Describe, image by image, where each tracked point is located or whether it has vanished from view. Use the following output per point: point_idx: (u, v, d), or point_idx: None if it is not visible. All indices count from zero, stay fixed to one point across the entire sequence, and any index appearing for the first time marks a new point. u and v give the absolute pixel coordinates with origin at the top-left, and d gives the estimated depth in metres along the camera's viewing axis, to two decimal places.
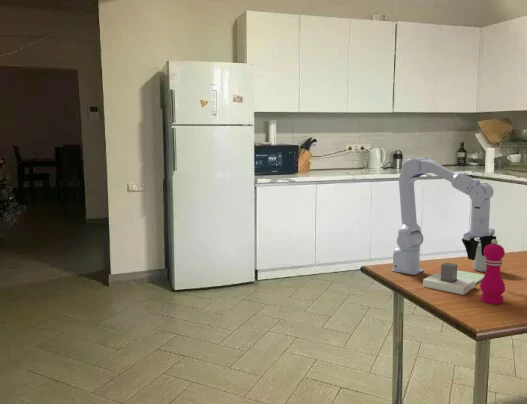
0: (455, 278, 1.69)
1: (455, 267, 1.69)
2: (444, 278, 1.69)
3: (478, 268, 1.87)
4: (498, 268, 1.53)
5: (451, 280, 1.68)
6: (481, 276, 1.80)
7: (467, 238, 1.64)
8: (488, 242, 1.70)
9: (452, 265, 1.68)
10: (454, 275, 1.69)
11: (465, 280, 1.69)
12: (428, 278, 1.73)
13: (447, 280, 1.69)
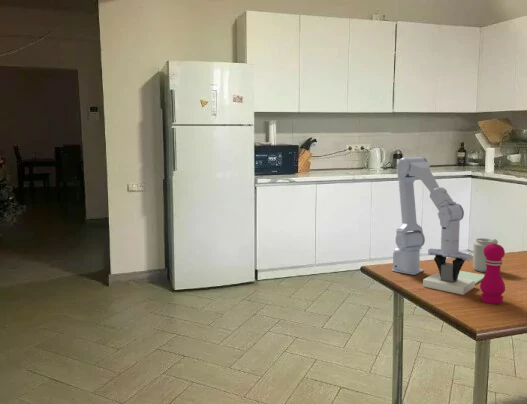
0: None
1: None
2: (444, 278, 1.69)
3: (478, 268, 1.87)
4: (498, 268, 1.53)
5: (451, 280, 1.68)
6: (481, 276, 1.80)
7: None
8: None
9: (452, 265, 1.69)
10: None
11: (465, 280, 1.69)
12: (428, 278, 1.73)
13: (447, 280, 1.69)
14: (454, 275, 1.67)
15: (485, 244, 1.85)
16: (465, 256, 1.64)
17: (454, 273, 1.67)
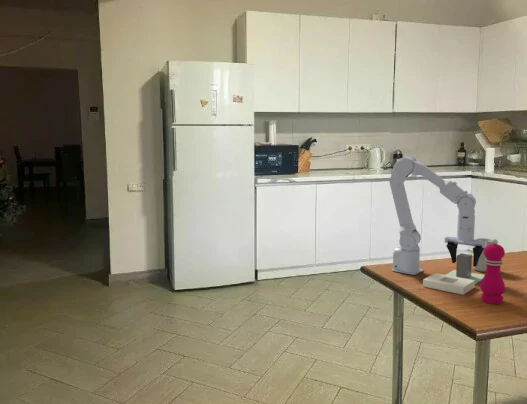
0: (470, 268, 1.79)
1: (470, 257, 1.78)
2: (459, 267, 1.79)
3: (478, 268, 1.87)
4: (498, 268, 1.53)
5: (466, 270, 1.78)
6: (481, 276, 1.80)
7: None
8: None
9: (467, 255, 1.78)
10: (469, 265, 1.78)
11: (465, 280, 1.69)
12: (428, 278, 1.73)
13: (462, 270, 1.78)
14: (474, 262, 1.76)
15: None
16: (480, 243, 1.74)
17: (474, 260, 1.76)
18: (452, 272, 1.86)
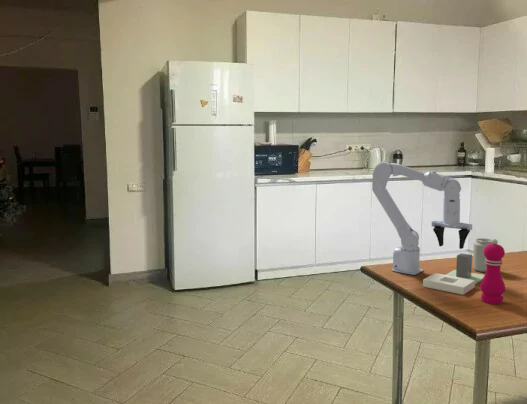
0: (470, 268, 1.79)
1: (470, 257, 1.78)
2: (459, 267, 1.79)
3: (478, 268, 1.87)
4: (498, 268, 1.53)
5: (466, 270, 1.78)
6: (481, 276, 1.80)
7: None
8: None
9: (467, 255, 1.78)
10: (469, 265, 1.78)
11: (465, 280, 1.69)
12: (428, 278, 1.73)
13: (462, 270, 1.78)
14: (460, 244, 1.80)
15: (485, 244, 1.85)
16: (466, 225, 1.78)
17: (460, 242, 1.80)
18: (452, 272, 1.86)
